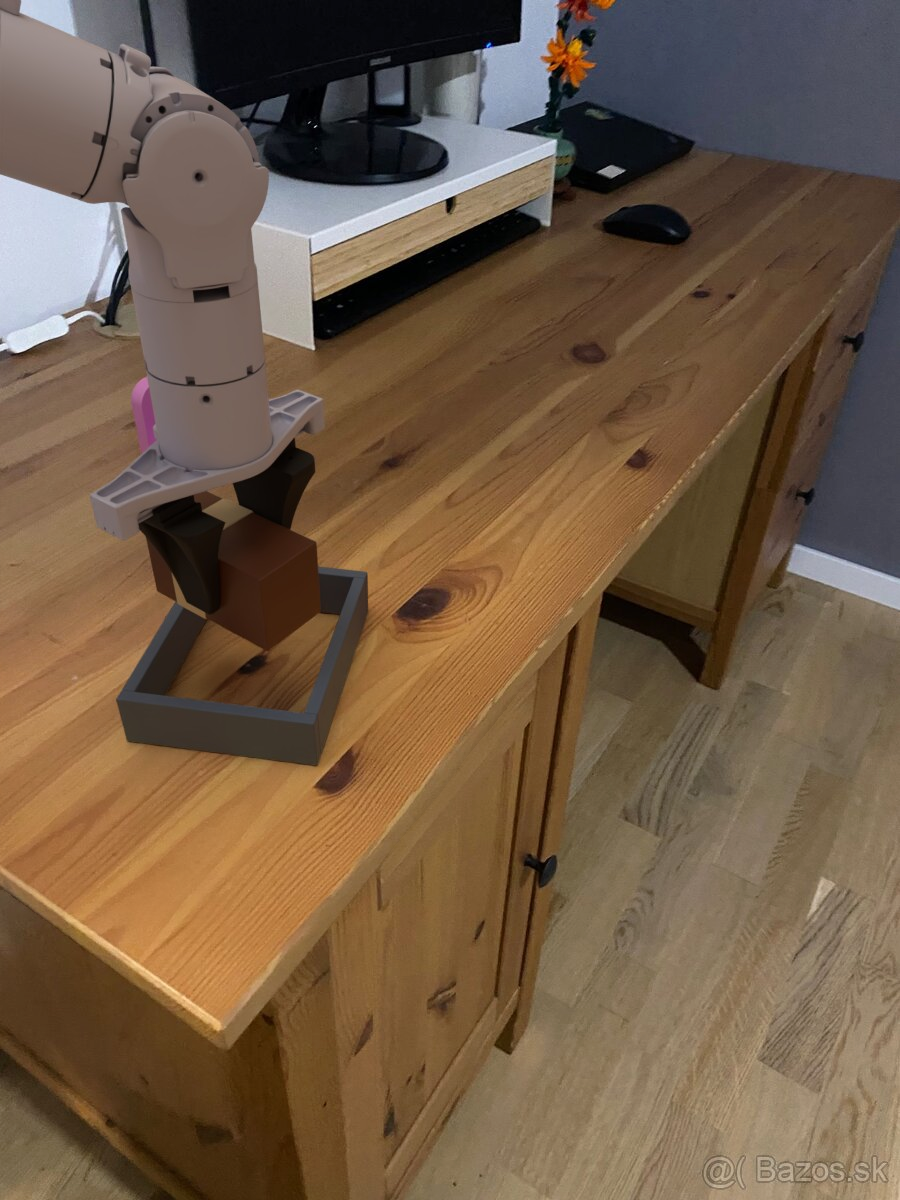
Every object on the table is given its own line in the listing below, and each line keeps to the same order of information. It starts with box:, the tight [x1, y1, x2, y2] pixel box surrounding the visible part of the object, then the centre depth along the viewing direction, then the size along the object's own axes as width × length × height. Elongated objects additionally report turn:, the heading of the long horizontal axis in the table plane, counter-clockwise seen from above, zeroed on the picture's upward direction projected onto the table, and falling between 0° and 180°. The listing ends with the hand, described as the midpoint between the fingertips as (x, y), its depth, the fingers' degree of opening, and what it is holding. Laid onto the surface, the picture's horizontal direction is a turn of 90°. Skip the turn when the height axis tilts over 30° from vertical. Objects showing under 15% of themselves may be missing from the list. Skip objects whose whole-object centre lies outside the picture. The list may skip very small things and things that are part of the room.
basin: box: [115, 565, 369, 766], centre depth 58 cm, size 12×15×4 cm
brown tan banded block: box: [145, 491, 321, 652], centre depth 52 cm, size 5×9×5 cm, turn 55°
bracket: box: [130, 376, 157, 455], centre depth 81 cm, size 13×6×7 cm, turn 143°
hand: (236, 583), depth 53 cm, fingers closed on brown tan banded block, 4 cm apart
